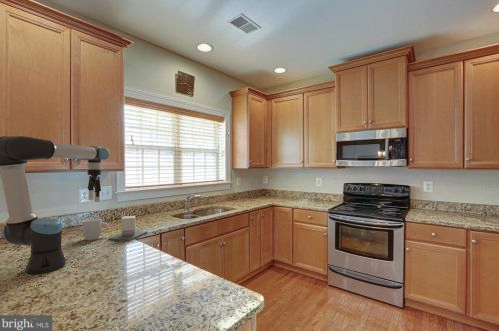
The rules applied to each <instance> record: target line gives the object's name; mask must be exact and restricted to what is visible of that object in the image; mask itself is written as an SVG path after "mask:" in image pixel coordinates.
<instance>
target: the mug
mask: <svg viewBox="0 0 499 331" xmlns="http://www.w3.org/2000/svg"><path fill="white" fill-rule="evenodd" d="M102 220H103V219H102V218H87V219H84V220H82V234H83V237H84V239H85V240H86V241H90V242H91V241H96V240H98V239H99V238H100V236H103V235H104V234H106V233H107V232H108V231H109V226H108V223H106V222H103V221H102ZM103 225H105V226H106V229H105V231H104V232H102V229H103Z"/></svg>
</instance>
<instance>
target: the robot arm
mask: <svg viewBox="0 0 499 331" xmlns="http://www.w3.org/2000/svg"><path fill="white" fill-rule="evenodd" d="M110 154H111V152H110V150H109V149H108V148H106V147H102V146H99V145H98V146H97V145H88V146H87V145H77V144H69V143H59V142H53V141H52V140H50V139H43V138H37V137H31V136H26V135H25V136H24V135H16V136H15V135H12V136H9V135H7V136H6V135H2V136H0V176H1V177H0V178H1V182H2V188H3V193H4V198H5V202H6V203H5V204H6V207H7V208H6V209H7V213H8V219H6V221H5V226H4V227H3V229H2V231H1V235H2V239H3V240H4V241H5V242H6V243H8V244H11V245H14V246H15V245H16V246H20V245H21V246H30V255H29V257H28V258H29V259H28V261H27V264H26V265H25V273H26V274H29V275H38V274H40V275H41V274H45V273H46V274H47V273H50V272H54V271H56V270H57V271H58V270H60V269H61V268H63V267H65V266H66V264H67V263H66V262H67V261H66V257H65V255H64V252H63V250H62V239H63V238H62V234H63V233H62V232H63V230H62V229H63V227H62V221H61V220H59V219H57V218H38V214H36V213H34V212H33V209H32V203H31V199H30V192H29V187H28V181H27V176H26V172H25V171H26V169H25V167H26V165H27V164H28V161H34V160H35V161H36V160H51V159H52V158H54V159H72V160H77V161H81V160H82V161H87V175H88V176H89V177H88V182H87V190H88V201H92V200H94V202H95V203H99V202H100V199H101V191H102V185H101V180H100V179H101V178H100V176H101V175H102V170H101V168H102V165H103V164H102V161H104V160H108V159H109V158H110Z"/></svg>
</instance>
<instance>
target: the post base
mask: <svg viewBox="0 0 499 331" xmlns="http://www.w3.org/2000/svg"><path fill="white" fill-rule="evenodd" d="M147 234H148V231H146V230H145V231H144V230H136V229H135V230H128V231H121V233H117V234H116V235H113V236H109V237H108V238H107V239H108V241H109V240H110V241H116V242H117V241H121V242H131V241H134V240H135V239H137V238H140V237H142V236H144V235H147Z"/></svg>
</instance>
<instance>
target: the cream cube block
mask: <svg viewBox="0 0 499 331" xmlns="http://www.w3.org/2000/svg"><path fill="white" fill-rule="evenodd" d="M136 216H137V215H125V216H122V217H121V220H120V221H121V224H120V225H121V228H120V229H121V232H122V231H128V230H135V231H136V227H137V225H136V223H137V222H136V219H137V218H136Z"/></svg>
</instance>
